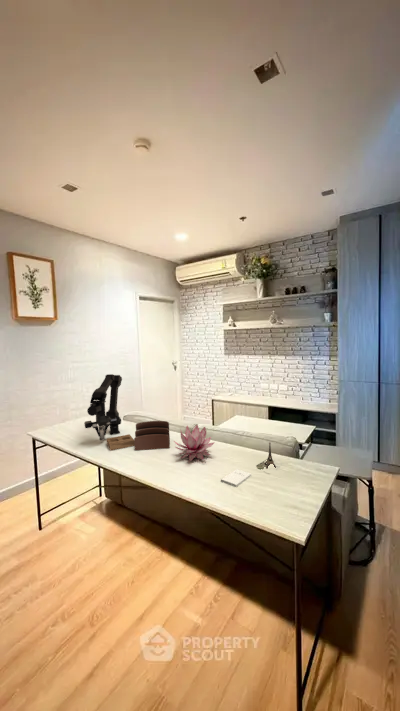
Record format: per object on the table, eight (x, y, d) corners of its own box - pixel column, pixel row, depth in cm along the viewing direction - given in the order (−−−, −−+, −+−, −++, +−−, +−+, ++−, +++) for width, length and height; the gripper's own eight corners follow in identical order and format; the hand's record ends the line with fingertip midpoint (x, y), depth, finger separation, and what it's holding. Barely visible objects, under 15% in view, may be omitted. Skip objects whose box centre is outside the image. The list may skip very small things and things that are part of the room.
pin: (99, 439, 184) (98, 426, 183) (104, 438, 185) (103, 425, 184) (100, 440, 181) (99, 427, 180) (105, 439, 182) (104, 426, 182)
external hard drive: (220, 482, 130) (236, 471, 140) (236, 488, 125) (251, 476, 135) (220, 479, 130) (236, 468, 140) (236, 484, 125) (251, 473, 135)
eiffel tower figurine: (269, 458, 153) (268, 433, 152) (286, 464, 146) (286, 438, 145) (251, 469, 142) (251, 441, 141) (270, 475, 135) (269, 447, 134)
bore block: (106, 444, 180) (106, 438, 180) (129, 439, 187) (129, 434, 186) (110, 450, 170) (109, 444, 169) (134, 445, 176) (134, 440, 176)
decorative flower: (188, 446, 172) (187, 420, 171) (221, 452, 161) (220, 425, 160) (165, 460, 154) (164, 432, 153) (201, 468, 143) (200, 438, 142)
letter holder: (136, 444, 178) (135, 421, 177) (170, 442, 180) (168, 419, 179) (134, 451, 169) (133, 426, 167) (169, 448, 170) (168, 424, 169)
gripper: (85, 416, 170) (87, 443, 171) (118, 411, 178) (120, 437, 180) (83, 412, 180) (85, 437, 181) (115, 407, 188) (116, 431, 190)
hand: (101, 436), depth 183 cm, fingers closed on pin, 3 cm apart
